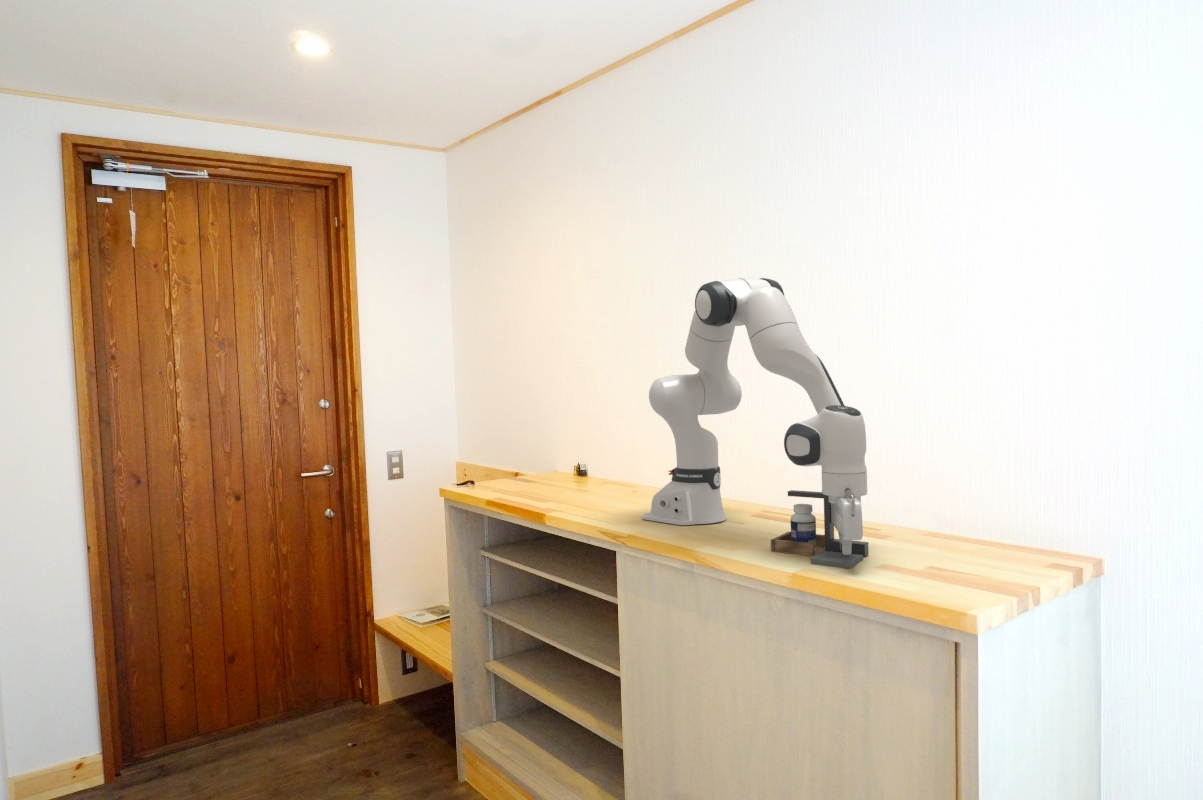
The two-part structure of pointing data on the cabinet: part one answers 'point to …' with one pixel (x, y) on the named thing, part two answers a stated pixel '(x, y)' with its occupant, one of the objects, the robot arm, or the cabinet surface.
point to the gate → (831, 525)
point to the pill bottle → (803, 524)
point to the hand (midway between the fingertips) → (845, 553)
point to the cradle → (796, 545)
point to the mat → (836, 559)
